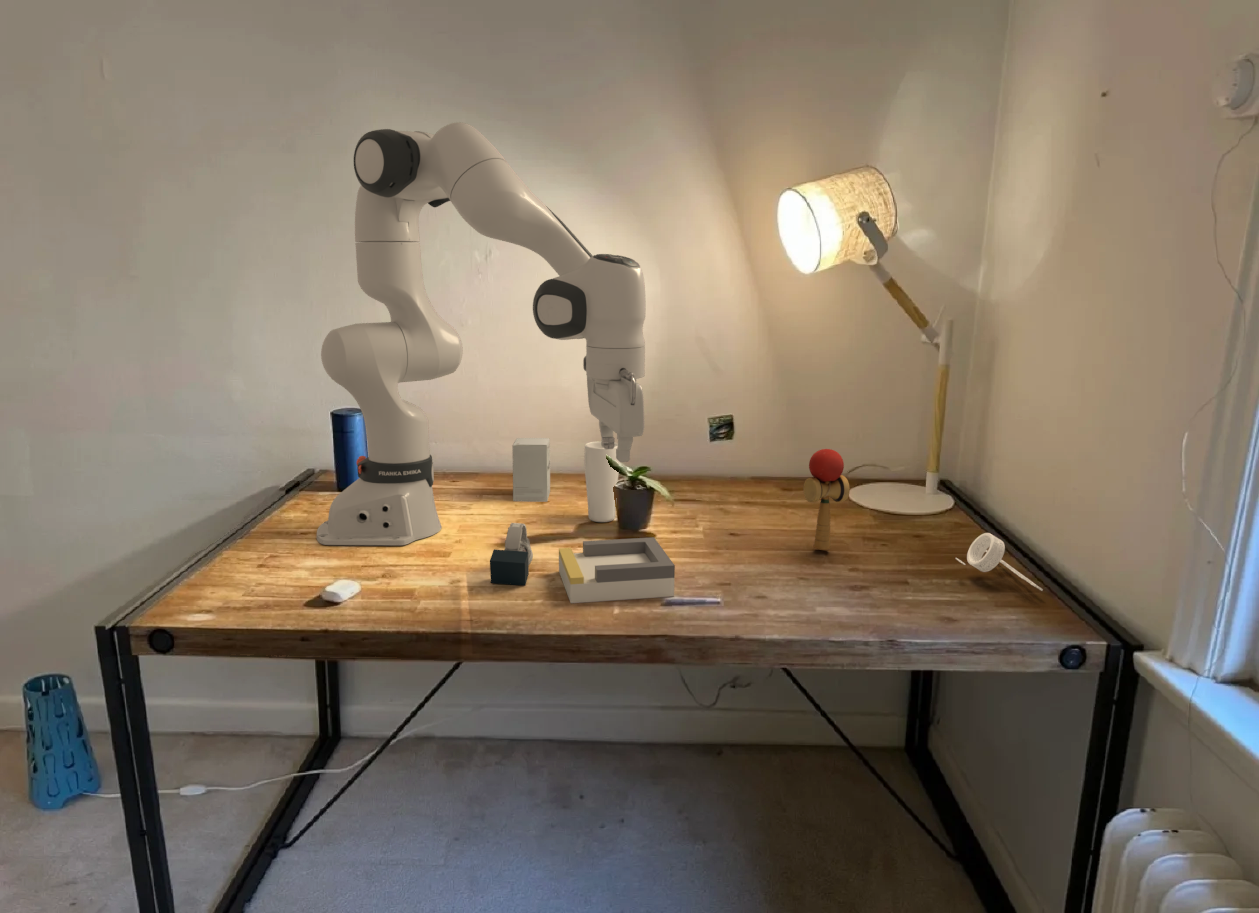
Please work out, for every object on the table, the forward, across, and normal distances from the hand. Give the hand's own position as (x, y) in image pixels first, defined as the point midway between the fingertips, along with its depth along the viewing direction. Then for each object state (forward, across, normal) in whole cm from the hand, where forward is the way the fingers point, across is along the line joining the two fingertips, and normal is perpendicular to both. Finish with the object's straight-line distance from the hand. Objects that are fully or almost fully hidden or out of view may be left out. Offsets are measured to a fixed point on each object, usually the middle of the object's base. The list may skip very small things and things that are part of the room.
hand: (615, 454), depth 141 cm
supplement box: (+21, +52, +4) cm, 57 cm away
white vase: (+21, +35, -6) cm, 41 cm away
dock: (+21, 0, 0) cm, 21 cm away
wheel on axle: (+22, -10, -60) cm, 65 cm away
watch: (+19, +3, +17) cm, 25 cm away
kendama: (+21, +8, -41) cm, 47 cm away
